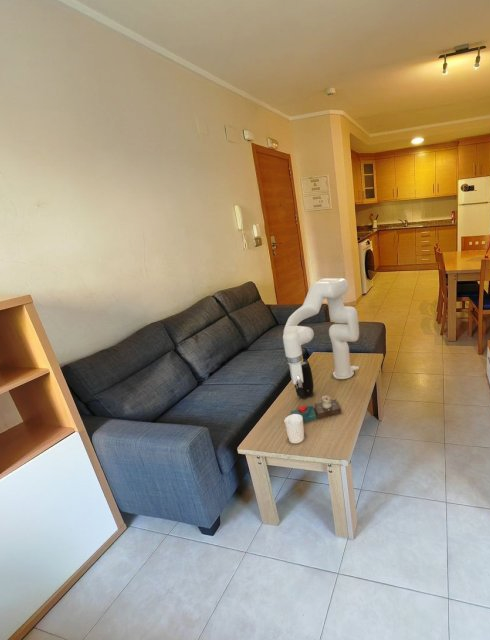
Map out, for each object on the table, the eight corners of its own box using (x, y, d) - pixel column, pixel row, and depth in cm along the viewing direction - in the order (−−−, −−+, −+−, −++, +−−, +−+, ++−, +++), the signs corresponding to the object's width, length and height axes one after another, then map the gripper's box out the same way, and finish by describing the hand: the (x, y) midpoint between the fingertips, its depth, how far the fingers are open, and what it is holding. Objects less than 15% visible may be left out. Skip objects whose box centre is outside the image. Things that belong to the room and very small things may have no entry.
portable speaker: (314, 398, 180) (309, 364, 174) (297, 400, 180) (291, 367, 174) (314, 389, 188) (310, 357, 182) (297, 392, 188) (292, 360, 182)
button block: (313, 409, 170) (312, 402, 169) (316, 419, 162) (315, 412, 160) (291, 414, 167) (290, 407, 166) (293, 425, 159) (292, 417, 158)
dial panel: (336, 404, 173) (335, 398, 172) (340, 413, 164) (340, 407, 163) (315, 409, 170) (314, 403, 169) (318, 418, 162) (317, 413, 161)
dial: (321, 404, 168) (320, 396, 166) (330, 402, 169) (329, 394, 167) (323, 409, 164) (322, 400, 162) (332, 407, 165) (331, 398, 163)
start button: (305, 407, 165) (305, 404, 165) (307, 411, 162) (306, 408, 162) (298, 409, 165) (298, 406, 164) (299, 413, 161) (299, 410, 161)
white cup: (290, 446, 145) (286, 426, 141) (285, 436, 152) (282, 417, 148) (308, 440, 147) (304, 421, 144) (302, 430, 154) (299, 411, 151)
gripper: (284, 353, 161) (290, 387, 167) (288, 367, 146) (294, 404, 152) (300, 350, 163) (305, 384, 169) (305, 363, 148) (310, 400, 154)
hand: (300, 393), depth 160 cm, fingers closed
